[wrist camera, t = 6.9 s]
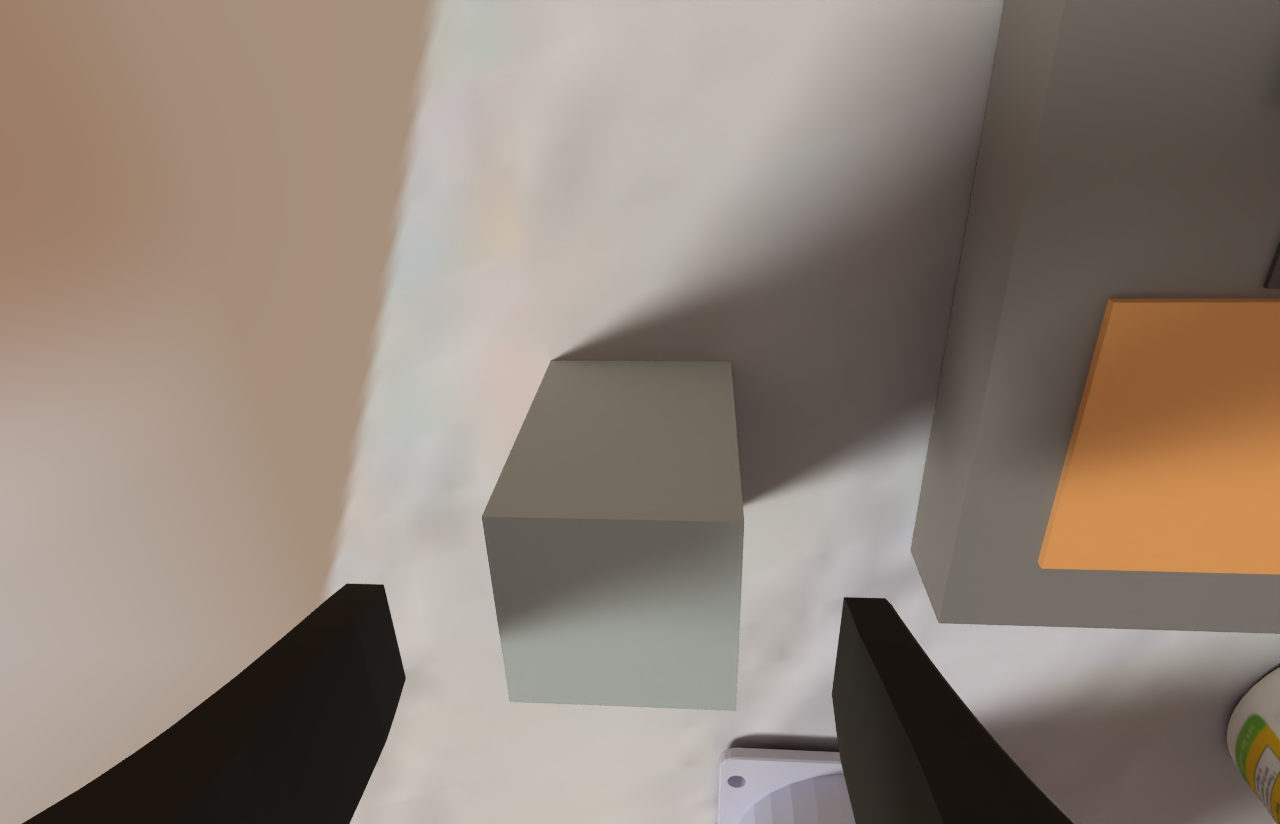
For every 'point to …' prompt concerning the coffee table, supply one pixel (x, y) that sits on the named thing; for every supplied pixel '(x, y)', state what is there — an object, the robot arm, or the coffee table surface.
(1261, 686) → the supplement bottle
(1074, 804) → the coffee table surface
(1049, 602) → the switch box
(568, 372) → the block
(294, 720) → the robot arm
